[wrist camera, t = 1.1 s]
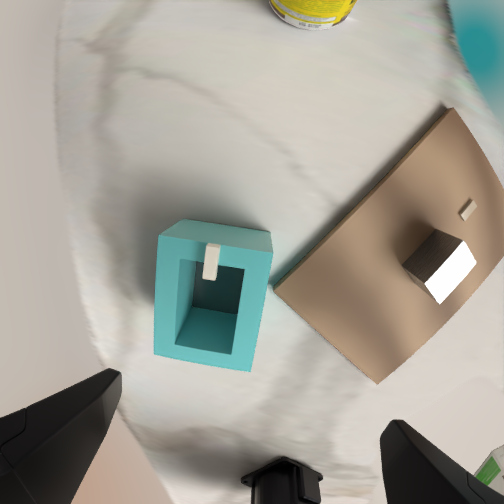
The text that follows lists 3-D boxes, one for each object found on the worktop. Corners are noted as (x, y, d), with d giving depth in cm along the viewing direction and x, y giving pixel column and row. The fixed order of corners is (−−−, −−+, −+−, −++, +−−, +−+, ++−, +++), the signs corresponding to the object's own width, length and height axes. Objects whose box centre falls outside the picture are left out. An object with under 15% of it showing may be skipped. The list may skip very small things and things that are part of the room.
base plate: (374, 378, 22) (378, 386, 21) (272, 286, 20) (273, 293, 19) (516, 228, 19) (524, 230, 18) (447, 108, 17) (455, 106, 16)
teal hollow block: (252, 329, 21) (250, 378, 16) (174, 316, 21) (150, 359, 16) (270, 232, 19) (273, 256, 14) (183, 218, 19) (154, 237, 14)
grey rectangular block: (415, 284, 19) (439, 304, 16) (401, 265, 19) (424, 283, 16) (448, 248, 19) (476, 263, 15) (435, 228, 18) (463, 240, 15)
